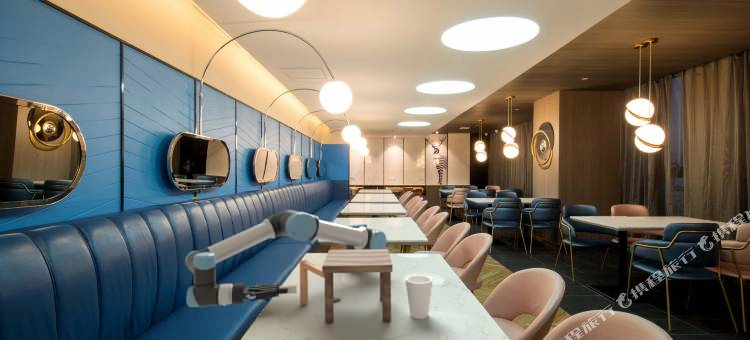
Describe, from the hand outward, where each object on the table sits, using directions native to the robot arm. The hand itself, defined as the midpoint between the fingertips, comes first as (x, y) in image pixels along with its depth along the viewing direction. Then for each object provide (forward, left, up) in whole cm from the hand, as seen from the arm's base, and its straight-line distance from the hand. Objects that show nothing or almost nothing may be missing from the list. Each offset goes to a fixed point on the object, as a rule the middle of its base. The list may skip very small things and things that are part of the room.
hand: (296, 288), depth 140 cm
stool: (+6, +24, -6) cm, 26 cm away
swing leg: (+7, +8, -6) cm, 11 cm away
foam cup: (+12, +46, -6) cm, 48 cm away
